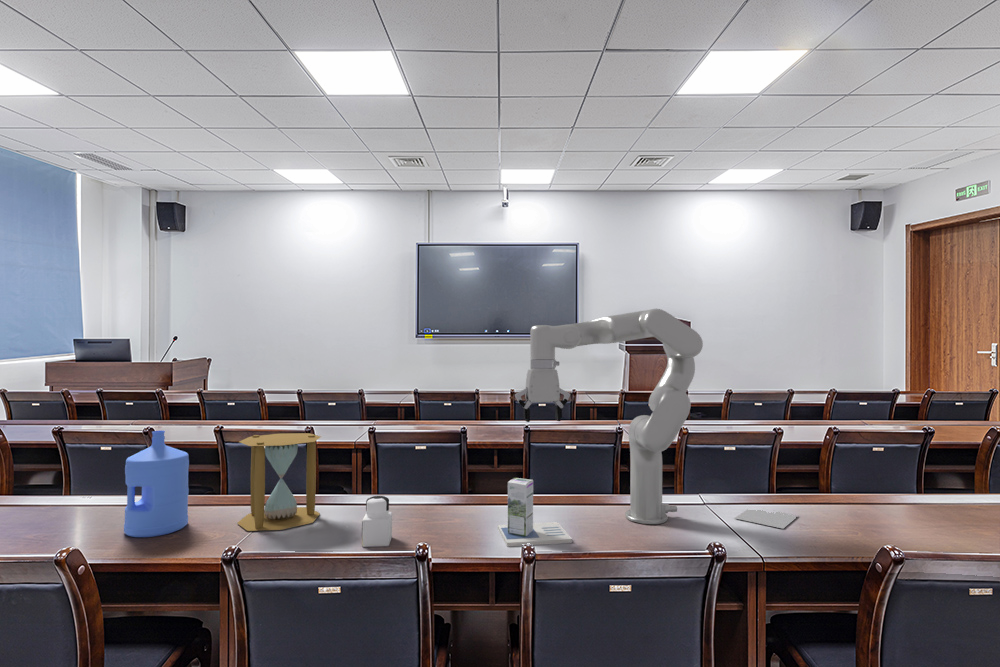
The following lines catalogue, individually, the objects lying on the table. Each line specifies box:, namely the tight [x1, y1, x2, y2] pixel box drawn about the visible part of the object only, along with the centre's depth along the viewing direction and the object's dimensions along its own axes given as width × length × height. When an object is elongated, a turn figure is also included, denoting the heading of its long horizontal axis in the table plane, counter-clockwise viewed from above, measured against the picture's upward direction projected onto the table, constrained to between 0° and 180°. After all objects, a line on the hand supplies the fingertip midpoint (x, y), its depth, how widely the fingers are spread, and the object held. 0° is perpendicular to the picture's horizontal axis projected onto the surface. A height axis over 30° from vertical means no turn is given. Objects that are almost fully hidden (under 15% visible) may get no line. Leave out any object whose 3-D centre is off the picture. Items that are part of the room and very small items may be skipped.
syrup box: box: [507, 477, 534, 536], centre depth 151 cm, size 6×6×14 cm
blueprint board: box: [497, 521, 573, 548], centre depth 152 cm, size 18×14×1 cm
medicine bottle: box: [361, 495, 393, 548], centre depth 146 cm, size 7×7×12 cm
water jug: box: [123, 430, 190, 538], centre depth 156 cm, size 16×16×28 cm
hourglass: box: [237, 432, 322, 532], centre depth 165 cm, size 24×22×25 cm
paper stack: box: [734, 508, 799, 529], centre depth 162 cm, size 23×25×1 cm
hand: (542, 421), depth 166 cm, fingers open, 9 cm apart
